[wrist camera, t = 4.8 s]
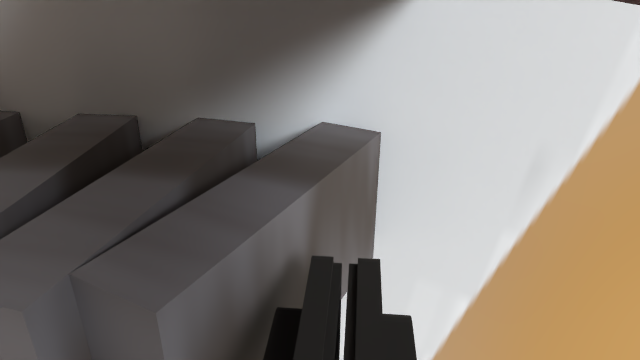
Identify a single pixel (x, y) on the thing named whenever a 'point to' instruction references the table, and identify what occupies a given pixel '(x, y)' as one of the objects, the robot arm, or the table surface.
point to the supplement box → (630, 1)
